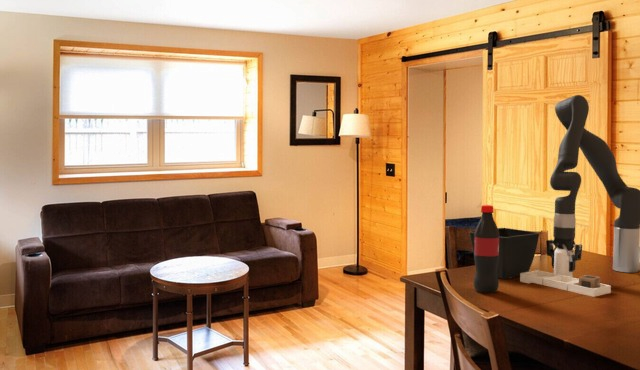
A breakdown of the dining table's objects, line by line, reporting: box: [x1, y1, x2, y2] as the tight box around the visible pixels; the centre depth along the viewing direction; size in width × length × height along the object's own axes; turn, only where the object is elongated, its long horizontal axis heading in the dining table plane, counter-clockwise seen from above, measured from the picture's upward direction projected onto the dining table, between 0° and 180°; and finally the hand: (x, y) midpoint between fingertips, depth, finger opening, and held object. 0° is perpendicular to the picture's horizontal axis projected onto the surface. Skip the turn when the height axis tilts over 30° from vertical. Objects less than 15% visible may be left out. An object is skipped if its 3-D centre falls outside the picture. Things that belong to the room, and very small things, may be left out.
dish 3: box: [567, 282, 612, 297], centre depth 208 cm, size 10×10×3 cm
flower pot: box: [469, 227, 540, 280], centre depth 238 cm, size 19×19×17 cm
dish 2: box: [542, 275, 579, 291], centre depth 217 cm, size 10×10×3 cm
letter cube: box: [578, 274, 601, 289], centre depth 208 cm, size 5×5×5 cm
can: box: [553, 248, 574, 278], centre depth 229 cm, size 6×6×12 cm
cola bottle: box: [473, 204, 500, 294], centre depth 212 cm, size 8×8×30 cm
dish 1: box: [519, 269, 559, 286], centre depth 225 cm, size 10×10×3 cm
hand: (563, 269), depth 229 cm, fingers closed on can, 6 cm apart
